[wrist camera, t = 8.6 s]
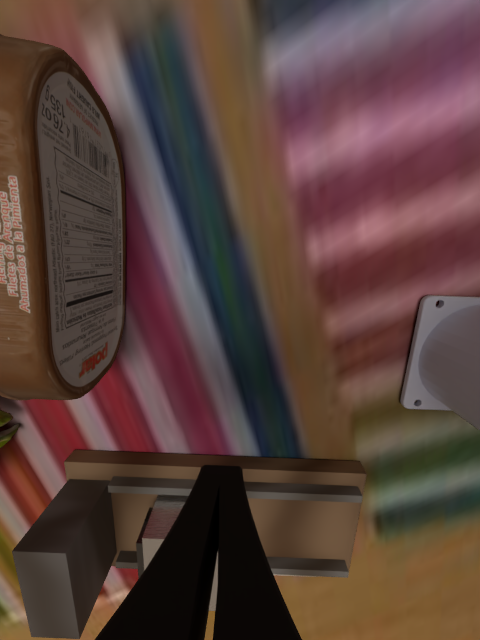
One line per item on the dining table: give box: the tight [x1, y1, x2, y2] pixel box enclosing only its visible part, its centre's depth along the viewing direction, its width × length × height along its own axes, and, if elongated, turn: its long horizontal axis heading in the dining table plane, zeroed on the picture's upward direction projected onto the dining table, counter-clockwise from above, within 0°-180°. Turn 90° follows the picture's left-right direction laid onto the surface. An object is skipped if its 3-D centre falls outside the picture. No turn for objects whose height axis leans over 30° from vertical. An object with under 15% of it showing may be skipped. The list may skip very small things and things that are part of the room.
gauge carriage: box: [136, 495, 218, 611], centre depth 18 cm, size 6×8×3 cm
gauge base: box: [12, 450, 367, 639], centre depth 18 cm, size 22×10×6 cm, turn 88°
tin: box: [0, 34, 126, 400], centre depth 12 cm, size 15×3×8 cm, turn 174°
